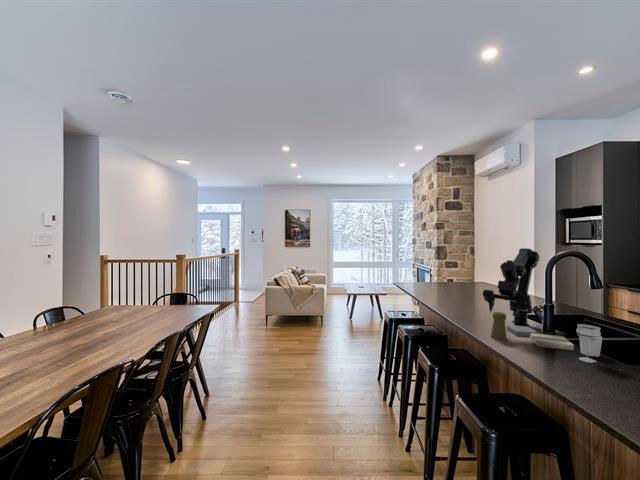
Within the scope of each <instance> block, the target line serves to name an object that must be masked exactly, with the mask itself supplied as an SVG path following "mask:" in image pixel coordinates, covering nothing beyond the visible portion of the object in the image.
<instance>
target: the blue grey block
mask: <svg viewBox="0 0 640 480" xmlns="http://www.w3.org/2000/svg"><path fill="white" fill-rule="evenodd" d="M506 331H507V332H509V333H511V334H513V336H516V337H530V333H535V334H539V332H538V331H536V330H535V329H532V328H531V327H529V326H526V325H506Z"/></svg>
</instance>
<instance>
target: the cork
mask: <svg viewBox="0 0 640 480" xmlns="http://www.w3.org/2000/svg"><path fill="white" fill-rule="evenodd" d="M492 318H493V322H492V329H491V334H490V338H492V339H494V340H499V341H507V327H506V320H507V314H506V313H504V312H501V311H495V312H493V313H492Z"/></svg>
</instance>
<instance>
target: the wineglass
mask: <svg viewBox="0 0 640 480" xmlns="http://www.w3.org/2000/svg"><path fill="white" fill-rule="evenodd" d="M601 329H602V328H601V327H599V326H596V325H591V324H586V323H585V324H583V323H578V324H577V328H576V334H577V336H578V337H579V339H580V338H581V339H583V340H585V342H587V355H586V357H582V356H581V357H578V359H579V360H580V361H582V362H586V363H593V362H595V363H597V360H595V359H593V358H589V356H588V353H589V343H591V342H592V341H596V340H597V339H599V338H600V336H601V333H602V332H601V331H600V330H601ZM593 364H594V363H593Z"/></svg>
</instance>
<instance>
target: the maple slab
mask: <svg viewBox="0 0 640 480" xmlns="http://www.w3.org/2000/svg"><path fill="white" fill-rule="evenodd" d="M529 338H530V339H531V340H532V342H533V343H534V344H535V345H536V346H537V347H541V348H547V349H548V348H549V349H559V350H567V351H574V350H575V348H574V347H575V344H573V343H572V342H571V341H570V340H568V339H567V338H566V337H565V336H562V335H551V334H543V333H538V334H535V333H530V336H529Z"/></svg>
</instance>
